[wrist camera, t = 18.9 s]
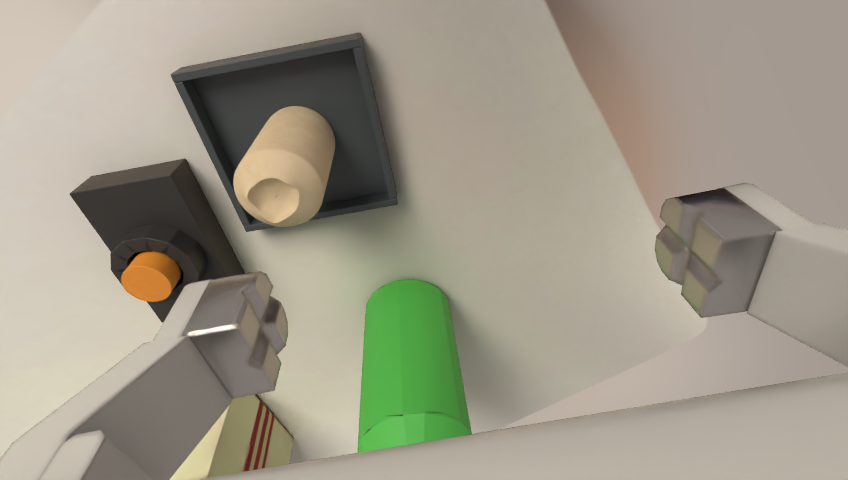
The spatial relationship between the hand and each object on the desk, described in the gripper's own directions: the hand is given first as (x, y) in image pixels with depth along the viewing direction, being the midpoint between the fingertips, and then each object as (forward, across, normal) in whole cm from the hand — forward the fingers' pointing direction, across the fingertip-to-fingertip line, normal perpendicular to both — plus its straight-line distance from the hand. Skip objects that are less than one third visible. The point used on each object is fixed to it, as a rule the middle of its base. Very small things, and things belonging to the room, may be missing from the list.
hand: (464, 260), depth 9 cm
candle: (+27, +10, +6) cm, 29 cm away
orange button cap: (+22, +23, +13) cm, 35 cm away
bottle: (+27, +5, +26) cm, 38 cm away
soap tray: (+27, +10, +6) cm, 29 cm away
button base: (+27, +23, +13) cm, 38 cm away
